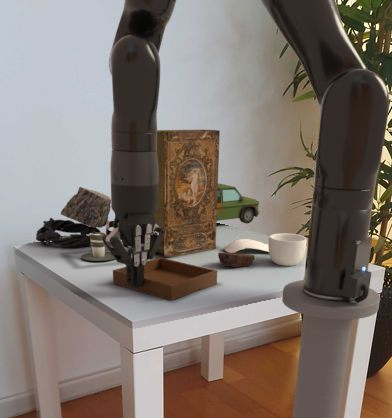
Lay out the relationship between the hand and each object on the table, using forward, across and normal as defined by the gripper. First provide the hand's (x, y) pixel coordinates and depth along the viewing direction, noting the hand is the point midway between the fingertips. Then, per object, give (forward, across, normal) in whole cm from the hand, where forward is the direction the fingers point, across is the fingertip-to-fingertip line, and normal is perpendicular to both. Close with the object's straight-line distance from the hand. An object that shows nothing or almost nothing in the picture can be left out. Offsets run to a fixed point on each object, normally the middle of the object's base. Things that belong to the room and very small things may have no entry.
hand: (135, 286), depth 94 cm
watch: (+1, +31, +36) cm, 48 cm away
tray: (+1, +8, 0) cm, 8 cm away
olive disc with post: (+1, +13, +23) cm, 26 cm away
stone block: (-11, +24, +39) cm, 47 cm away
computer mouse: (+1, +40, +2) cm, 40 cm away
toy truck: (+1, +61, +26) cm, 66 cm away
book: (+1, +30, +13) cm, 33 cm away
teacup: (+1, +36, -8) cm, 37 cm away
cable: (+2, +20, +40) cm, 44 cm away
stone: (+1, +27, -2) cm, 27 cm away
